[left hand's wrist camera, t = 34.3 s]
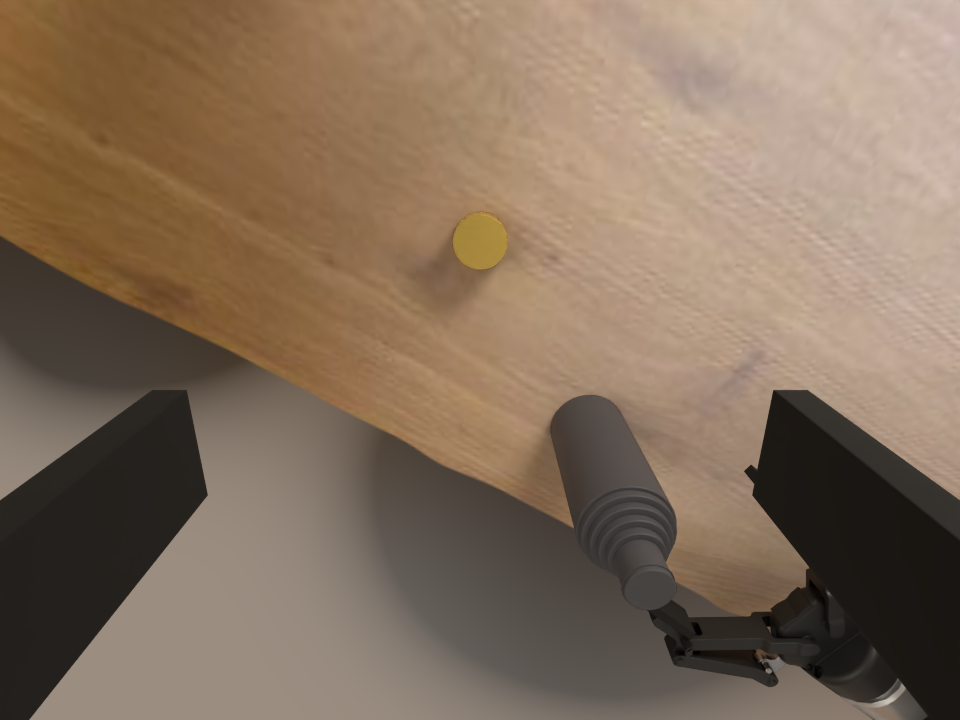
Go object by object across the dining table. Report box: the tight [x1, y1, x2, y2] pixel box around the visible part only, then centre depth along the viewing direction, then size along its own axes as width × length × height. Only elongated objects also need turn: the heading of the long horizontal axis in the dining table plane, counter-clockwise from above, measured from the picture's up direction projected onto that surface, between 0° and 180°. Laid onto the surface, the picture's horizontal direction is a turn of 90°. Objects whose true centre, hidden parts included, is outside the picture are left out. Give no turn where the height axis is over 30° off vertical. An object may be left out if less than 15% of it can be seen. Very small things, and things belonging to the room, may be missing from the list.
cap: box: [453, 212, 508, 270], centre depth 42 cm, size 4×4×2 cm
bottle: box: [551, 395, 677, 610], centre depth 40 cm, size 6×6×19 cm
